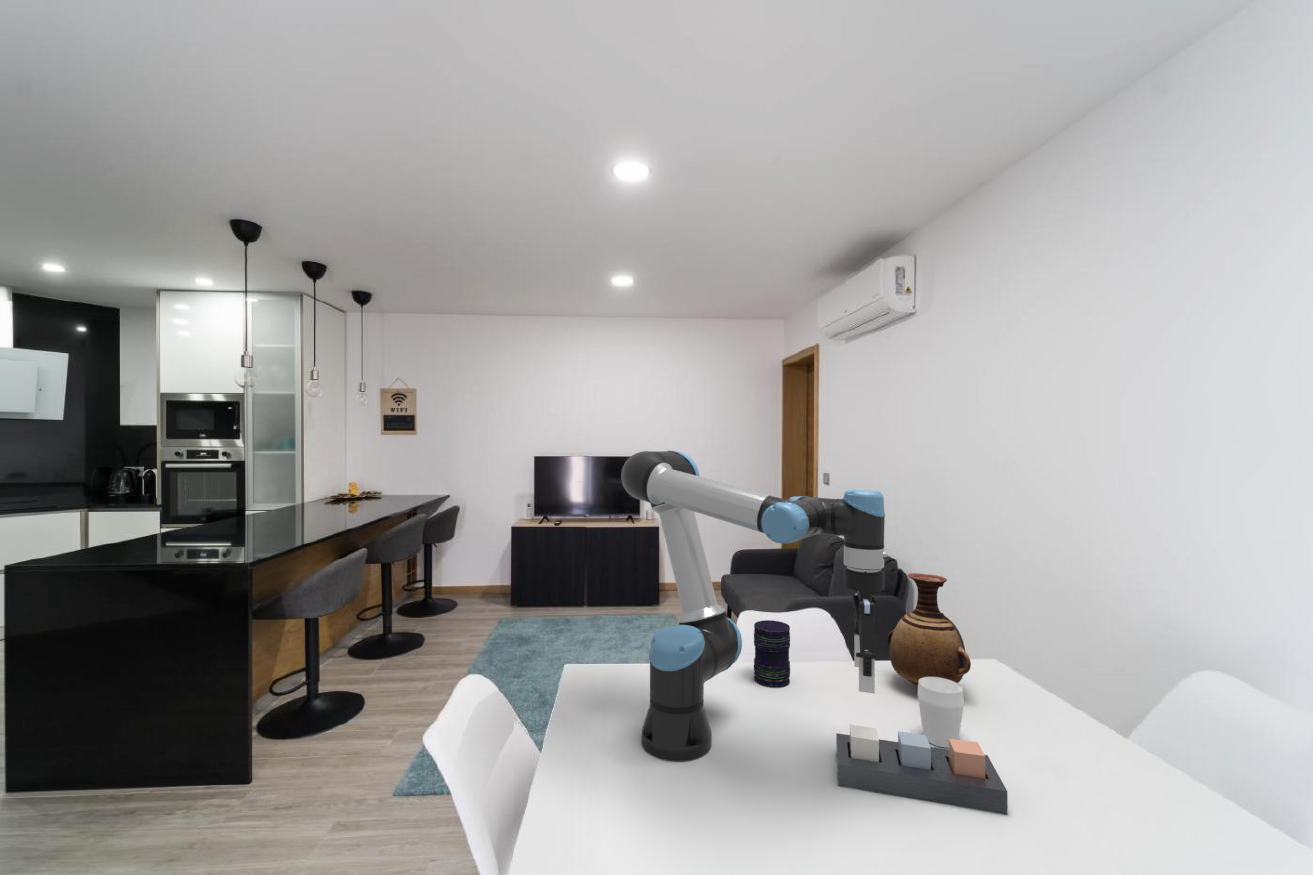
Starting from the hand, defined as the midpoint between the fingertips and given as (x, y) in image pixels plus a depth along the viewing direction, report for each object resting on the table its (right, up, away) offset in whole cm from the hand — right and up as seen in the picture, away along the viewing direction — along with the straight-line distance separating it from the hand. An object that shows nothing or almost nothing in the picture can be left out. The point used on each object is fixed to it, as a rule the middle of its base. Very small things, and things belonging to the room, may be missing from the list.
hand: (863, 678), depth 109 cm
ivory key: (0, -15, -1) cm, 15 cm away
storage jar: (-9, -19, +43) cm, 48 cm away
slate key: (+8, -15, -3) cm, 18 cm away
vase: (+31, -19, +37) cm, 52 cm away
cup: (+21, -19, +12) cm, 31 cm away
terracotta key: (+17, -15, -6) cm, 24 cm away
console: (+8, -18, -3) cm, 20 cm away
